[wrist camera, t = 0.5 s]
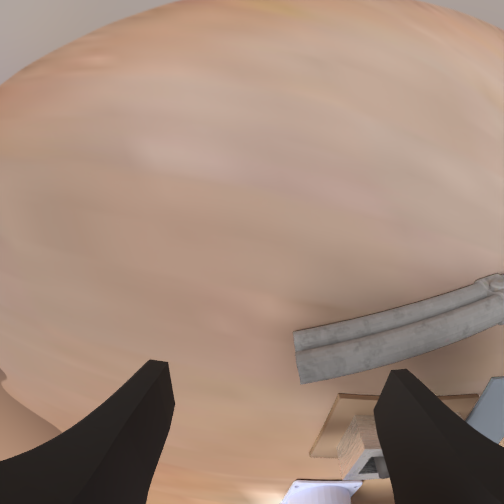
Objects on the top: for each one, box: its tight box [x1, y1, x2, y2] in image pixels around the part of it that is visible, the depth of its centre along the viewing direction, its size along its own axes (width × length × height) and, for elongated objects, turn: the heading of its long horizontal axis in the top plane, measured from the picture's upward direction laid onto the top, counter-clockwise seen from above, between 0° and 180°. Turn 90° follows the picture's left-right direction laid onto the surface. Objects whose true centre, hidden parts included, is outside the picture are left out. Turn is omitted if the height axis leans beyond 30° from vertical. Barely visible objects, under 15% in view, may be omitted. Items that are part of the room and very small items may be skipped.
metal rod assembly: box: [293, 274, 504, 384], centre depth 16 cm, size 26×3×5 cm, turn 103°
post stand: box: [309, 394, 479, 479], centre depth 19 cm, size 8×16×6 cm, turn 80°
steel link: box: [336, 412, 464, 480], centre depth 19 cm, size 4×12×4 cm, turn 80°
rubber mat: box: [465, 377, 504, 444], centre depth 21 cm, size 12×12×1 cm
